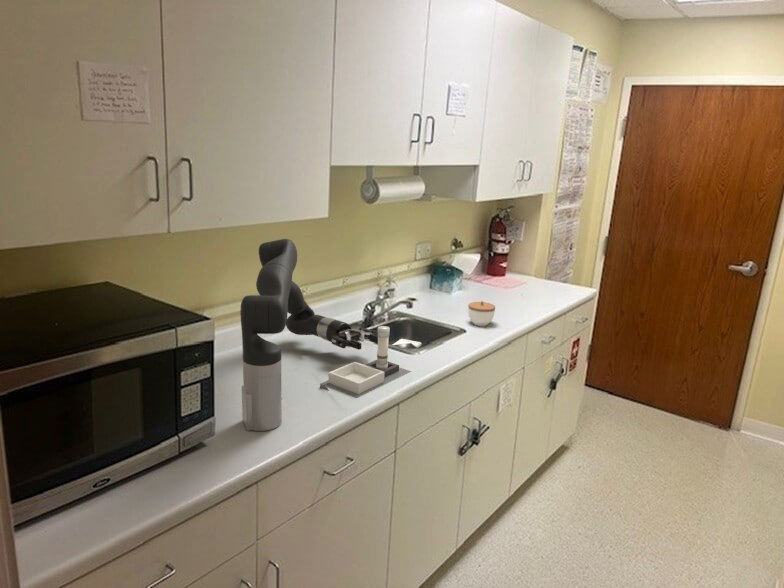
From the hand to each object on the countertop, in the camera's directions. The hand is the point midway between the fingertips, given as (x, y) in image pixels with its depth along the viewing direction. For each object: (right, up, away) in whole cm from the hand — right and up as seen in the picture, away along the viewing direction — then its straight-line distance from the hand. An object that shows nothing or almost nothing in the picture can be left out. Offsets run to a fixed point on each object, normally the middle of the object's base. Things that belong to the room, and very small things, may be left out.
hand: (370, 343), depth 182 cm
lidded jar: (+43, +3, +54) cm, 69 cm away
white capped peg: (+4, -8, -1) cm, 9 cm away
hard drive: (+11, -4, +23) cm, 26 cm away
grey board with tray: (-1, -11, -6) cm, 13 cm away
